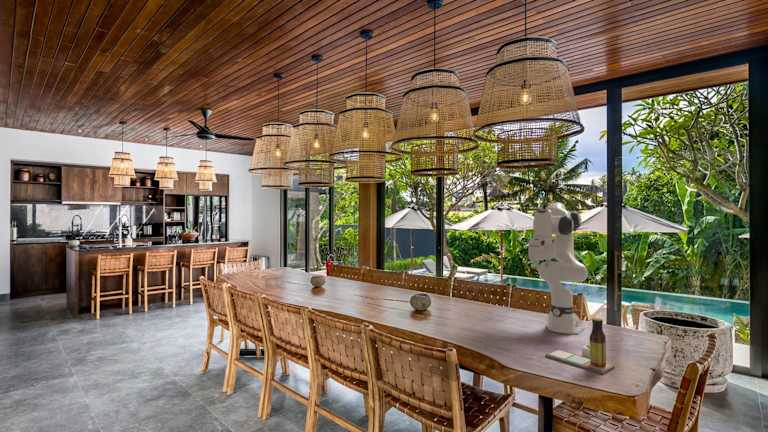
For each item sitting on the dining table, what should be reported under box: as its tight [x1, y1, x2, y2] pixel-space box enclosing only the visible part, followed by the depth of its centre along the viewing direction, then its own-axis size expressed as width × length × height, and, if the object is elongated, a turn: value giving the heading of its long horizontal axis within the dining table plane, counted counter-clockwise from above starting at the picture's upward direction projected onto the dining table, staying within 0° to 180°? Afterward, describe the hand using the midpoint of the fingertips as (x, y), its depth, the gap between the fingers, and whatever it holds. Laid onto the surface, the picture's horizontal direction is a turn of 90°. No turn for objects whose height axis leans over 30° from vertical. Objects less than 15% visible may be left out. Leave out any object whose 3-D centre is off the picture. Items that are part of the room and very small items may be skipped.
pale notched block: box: [581, 345, 590, 358], centre depth 179 cm, size 4×4×5 cm
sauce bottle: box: [589, 317, 607, 367], centre depth 167 cm, size 7×6×20 cm
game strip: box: [544, 348, 616, 375], centre depth 173 cm, size 12×25×1 cm, turn 38°
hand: (542, 268), depth 196 cm, fingers open, 8 cm apart
